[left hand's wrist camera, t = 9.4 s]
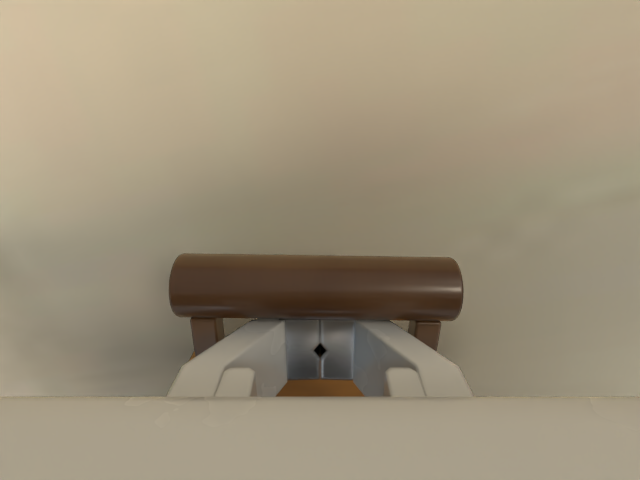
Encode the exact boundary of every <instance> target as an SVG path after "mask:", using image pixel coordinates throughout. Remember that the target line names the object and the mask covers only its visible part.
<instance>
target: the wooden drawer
mask: <svg viewBox="0 0 640 480" xmlns="http://www.w3.org/2000/svg"><path fill="white" fill-rule="evenodd" d="M169 300H170V305H171V308H172V311H173V312H174V314H175V315H176V316H178V317H191V319H190V322H191V329H192V336H193V343H194V350H195V351H194V352H193V354H192V356H191V358H190V360H192V359H193V358H195V357H196V356H198V355H199V354H201V353H202V352H204V351H205V350H207V349H208V348H210V347H211V346H213V345H214V344H216V343H217V342H219V341H220V340H222V339H224V328H223V318H277V319H348V320H410V322H409V329H408V333H409V334H411V335H412V336H414V337H415V338H417V339H418V340H420V341H421V342H423V343H424V344H426V345H427V346H429V347H430V348H432V349H433V350H435V351H437V345H438V339H439V333H440V327H441V322H440V321H453V320H455V319H456V318H457V317H458V316H459V314H460V311H461V308H462V303H463V281H462V276H461V272H460V269H459V266H458V264H457V263H456V261H455V260H454V259H452V258H449V257H390V256H323V255H256V254H189V253H184V254H181V255H179V256H178V257H177V259H176V260H175V262H174V264H173V267H172V270H171V274H170V280H169ZM190 360H189V361H190ZM275 397H365V396H364V395H363V393H362V392H361V391H360V390H359V389H358V387H357V386H356V385H355V384H354V382H353V380H321V379H318V380H287V383H286V384H285V385H284V387H283V388H282V389H281V390H280V392H279V393H278V394H277V395H276V396H275Z"/></svg>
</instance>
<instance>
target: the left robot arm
mask: <svg viewBox="0 0 640 480" xmlns="http://www.w3.org/2000/svg"><path fill="white" fill-rule="evenodd" d="M318 379H321V380H353V382H354V384H355V385H356V386H357V387H358V389H359V390H360V391H361V392H362V393H363V395H364V396H365V397H275V396H276V395H277V394H278V393H279V392H280V390H281V389H282V388H283V387H284V385H285V384H286V383H287V380H318ZM0 480H640V397H475V396H474V395H473V393H472V391H471V389H470V387H469V385H468V383H467V381H466V379H465V377H464V375H463V373H462V371H461V369H460V368H459V366H457V365H456V364H454V363H453V362H451V361H450V360H448V359H447V358H445V357H444V356H442V355H441V354H439V353H438V352H436V351H435V350H433V349H432V348H430V347H429V346H427V345H426V344H424V343H423V342H421V341H420V340H418V339H417V338H415V337H414V336H412V335H411V334H409V333H408V332H406V331H404V330H403V329H401V328H400V327H398V326H397V325H395V324H394V323H392V322H391V321H389V320H348V319H277V318H257V320H251V321H249V322H248V323H246V324H245V325H243V326H242V327H240V328H239V329H237V330H236V331H234V332H233V333H231V334H230V335H228V336H227V337H225V338H224V339H222V340H220V341H219V342H217V343H216V344H214V345H213V346H211V347H210V348H208V349H207V350H205V351H204V352H202V353H201V354H199V355H198V356H196V357H195V358H193V359H192V360H190V361H189V362H187V363H186V364H184V365H183V366H182V367H181V368H180V370H179V372H178V374H177V376H176V378H175V380H174V382H173V384H172V386H171V387H170V389H169V391H168V393H167V395H166V397H0Z"/></svg>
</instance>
